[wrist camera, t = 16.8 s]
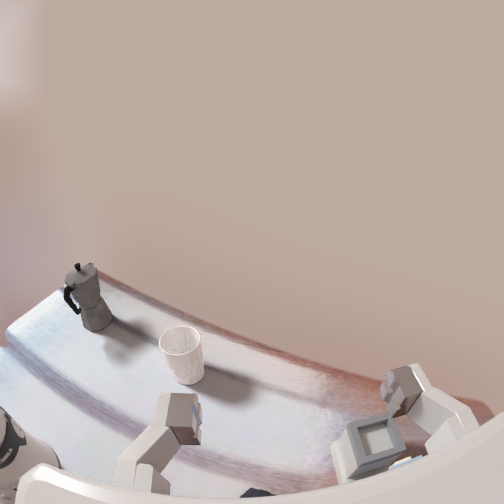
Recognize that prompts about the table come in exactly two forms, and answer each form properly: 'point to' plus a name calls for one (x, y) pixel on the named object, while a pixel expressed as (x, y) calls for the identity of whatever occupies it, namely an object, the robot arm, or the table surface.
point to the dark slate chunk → (256, 493)
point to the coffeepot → (87, 297)
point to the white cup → (183, 354)
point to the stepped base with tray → (367, 448)
